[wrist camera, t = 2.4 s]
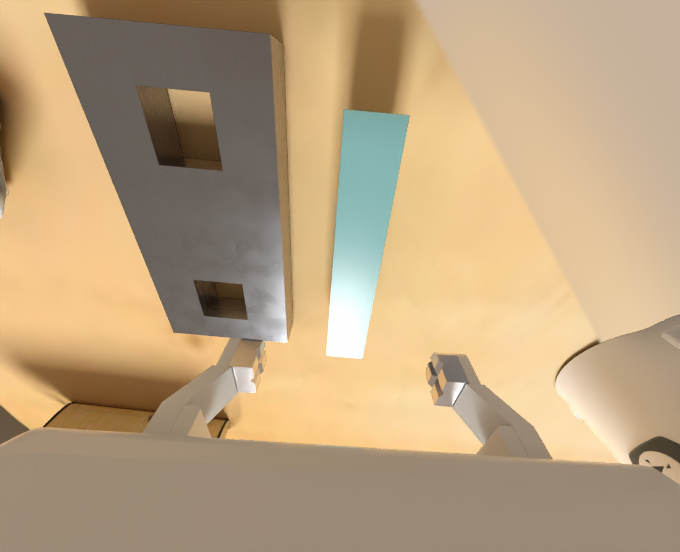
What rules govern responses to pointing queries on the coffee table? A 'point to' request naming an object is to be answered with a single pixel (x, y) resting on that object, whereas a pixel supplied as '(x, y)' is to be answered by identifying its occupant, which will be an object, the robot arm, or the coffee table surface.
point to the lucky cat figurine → (2, 186)
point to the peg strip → (362, 222)
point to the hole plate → (194, 164)
